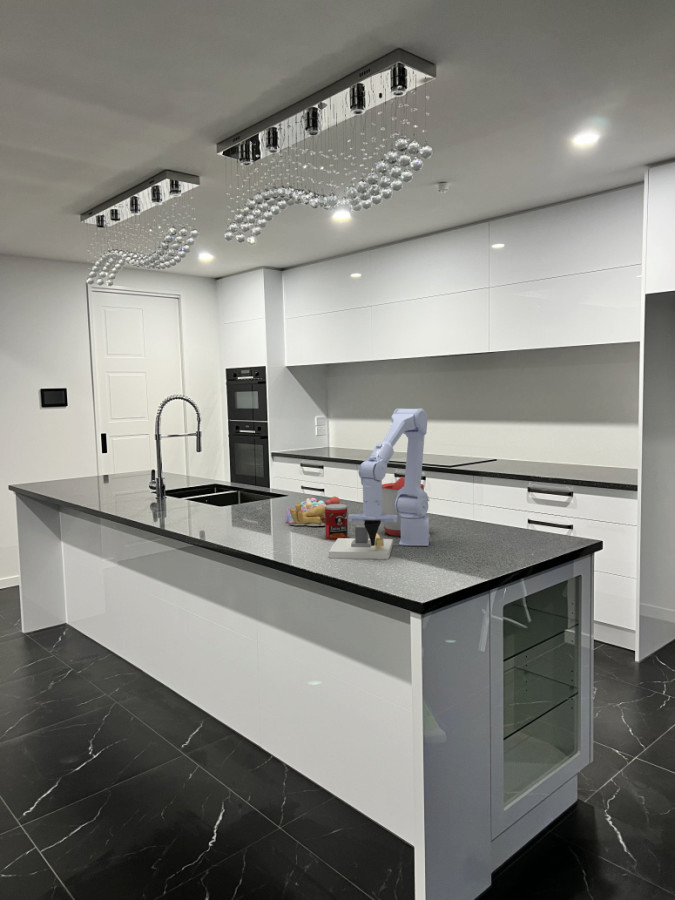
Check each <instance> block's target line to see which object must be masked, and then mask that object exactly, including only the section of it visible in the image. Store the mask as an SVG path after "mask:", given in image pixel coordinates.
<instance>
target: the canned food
mask: <svg viewBox="0 0 675 900" xmlns="http://www.w3.org/2000/svg"><path fill="white" fill-rule="evenodd" d="M348 522H349V521H348V505H346V504H343V503H342V504H330V505H326V506H325V525H324V528H325V529H324V530H325V537H326V538H325V539H327V540H332V541H336V540H337V539H338V538H348V533H349V531H348V530H349V529H348V528H349V527H348V526H349V525H348Z"/></svg>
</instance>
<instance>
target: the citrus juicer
mask: <svg viewBox="0 0 675 900" xmlns="http://www.w3.org/2000/svg"><path fill="white" fill-rule="evenodd" d="M404 483H405V476H401V477H399V478H398V479H397V480H396V481H395V482H389V483H388V482H387V483H382V514H389V515H397V522H382V525H383V528H384V531H385V533H386V534H388V535H389V536H391V537H395V536H398V537H401V516H399V514H398V513H397V512H396V510H395V501H396V498H397V494H398V491H399V490H400V489H401V488H403V487H404ZM424 485H425V484H422V483H421V486H420V487H421V488H422V489H423V490H424V489H425V488H424ZM424 491H425V490H424ZM407 496H413V497H417V496H415V495H407ZM427 501H428V502H430V501H431V499H430V497H429V496H428V495H427Z"/></svg>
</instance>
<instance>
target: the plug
mask: <svg viewBox="0 0 675 900" xmlns="http://www.w3.org/2000/svg"><path fill="white" fill-rule="evenodd" d="M354 528H355V529H354V532H355V533H354V537H355V538H354V539H355V540H353V541H352V543H351V547H371V541H370V540H368V539H369V534H368V532H367V530H366V528H365V526H364V524H356V526H354Z"/></svg>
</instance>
